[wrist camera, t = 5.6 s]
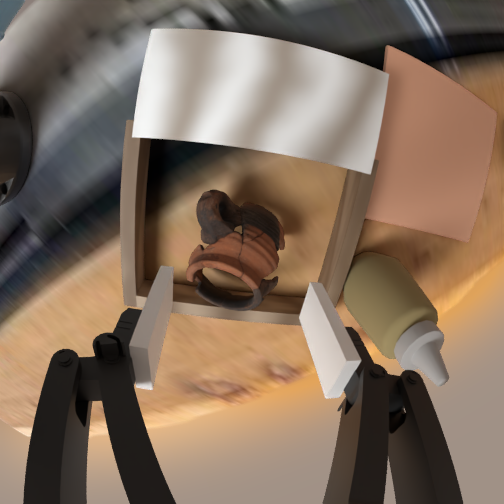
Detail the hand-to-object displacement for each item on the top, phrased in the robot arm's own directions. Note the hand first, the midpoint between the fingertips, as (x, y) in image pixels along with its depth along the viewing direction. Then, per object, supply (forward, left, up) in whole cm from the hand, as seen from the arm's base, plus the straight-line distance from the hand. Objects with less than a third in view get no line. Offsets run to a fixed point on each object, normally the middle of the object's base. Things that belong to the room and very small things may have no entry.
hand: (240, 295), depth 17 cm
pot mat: (+22, +13, -14) cm, 29 cm away
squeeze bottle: (+16, -4, -14) cm, 22 cm away
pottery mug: (0, 0, -15) cm, 15 cm away
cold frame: (0, 0, -14) cm, 14 cm away
